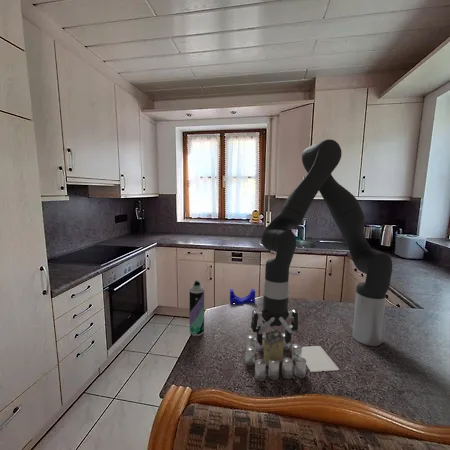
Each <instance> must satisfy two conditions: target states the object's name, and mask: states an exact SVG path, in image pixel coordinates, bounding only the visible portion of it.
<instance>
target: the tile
mask: <svg viewBox="0 0 450 450" xmlns="http://www.w3.org/2000/svg"><path fill="white" fill-rule="evenodd" d="M301 357H302V358H304V359H305V360H306V365H307V366H306V368H307V369H308V371H309V370H310V371H309V372H310V373H322V371H324V372H335V371H336V372H337V371H338V370H339V371H340V368H339V367H338V366H337V365H336V364H335V362H334V361H333V360H332V359H331V357H330V356H329V355H328V354H327V352H326V351H325V350H324V349H323V347H322V346H321V345H312V346H311V345H310V346H302V356H301Z"/></svg>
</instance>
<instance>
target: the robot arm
mask: <svg viewBox="0 0 450 450" xmlns="http://www.w3.org/2000/svg"><path fill="white" fill-rule="evenodd" d="M341 159H342V149H341V146H340V143H339V142H337V141H336V140H334V139H330V138H329V139H323V140H321V141H318V142H317V143H315V144H312V145H310V146H309V147H306V148H305V149H304V150H303V151H302V154H301V162H302V166H303V167H304V169H305V171H306V175H305V176H304V178H302V180H301V181H300V182H299V183H298V184H297V186H296V187H295V188H294V189H293V190H292V191H291V192H290V194H289V195H288V196H287V199H286V200H285V202H284V203H283V206H282V208H281V209H280V212H279V213H278V214H277V215H276V216H275V217H274V218H273V219H272V220H271V222H270V223H268V225H267V226H266V227H265V228H264V229H263V233H262V235H261V244H262V246H263V248H265V249H266V250H269V251H271V252H276V254H275V258H269V259H267V260H266V262H265V267H264V268H265V271H264V281H263V283H264V284H263V297H262V310H261V311H257V310H255V309H254V310H252V313H251V323H250V328H251V331H252V332H253V333H256V341H257V344H258V343H259V344H260V345H262V340H263V334H264V332H265V330H267V329H268V328H269V326H270V327H275V326H276V327H281V325H283V327H284V329H285V330H284V331H285V332H284V333H285V342H286V344H289V342H290V343H291V341H292V332H294V331H295V332H297V331H298V329H299V314H298V312H297V311H296V309H294V308H291V310H288V309H289V294H290V285H289V284H290V283H289V279H290V275H289V274H290V266H291V263H292V260H293V257H294V254H295V251H296V247H297V237H296V235H295V233H294V232H293V231H292V230H289V229H293V228H296V227H299V226H300V225H301V224H302V221H303V220H304V218H305V215H306V214H307V212H308V210H309V208H310V206H311V205H312V202H313V201H314V199H315V198H316V196H317V194H319V193H320V194H321V197H322V199H323V201H324V202H325V204H326V207H327V208H328V210H329V213H330V215H331V217H332V219H333V221H334V223H335V224H336V226H337V229H339V232H340V234H341V236H342V238H343V240H344V241H345V243H346V246H347V249H348V251H349V254H350V257H351V260H352V263H353V264H354V267H355V268H356V269H357V270H358V271H359V272H361V273H363V274H365V275H366V276H365V281H364V282H363V281H362V282H359V283H357V285H356V289H355V301H354V313H353V314H354V315H353V323H352V324H353V327H352V338H353V339H354V340H355V341H356V342H358V343H360V344H363V345H365V346H369V347H377V346H380V345H382V344H384V343H385V335H386V327H387V317H386V316H385V307H386V299H387V298H386V297H387V293H388V291H389V289H390V284H391V280H392V273H393V260H392V258H391V256H390V255H389V254H387V253H386V252H383V251H381V250H376V249H373V248H372V247H371V245H370V244H369V242H368V240H367V238H366V235H365V221H366V219H365V214H364V211H363V210H362V207H361V205H360V203H359V201H358V199H357V198H356V197H355V195H354V194H352V193H351V192H350V191H349V190H348V189H346V188H345V187H343V185H341V184H340V183H339V182H337V180H336V179H335V178H334V176H333V175H332V173H333V172H334V171H335V169H336V168H337V166H338V165H339V163H340V161H341ZM261 317H262V319H261V320H260V318H261ZM289 317H290V322H291V323H290V325H289V324H288V322H287V321H286V320H287V319H288V318H289ZM259 320H260V322H259V324H258V321H259ZM289 345H290V344H289Z"/></svg>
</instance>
